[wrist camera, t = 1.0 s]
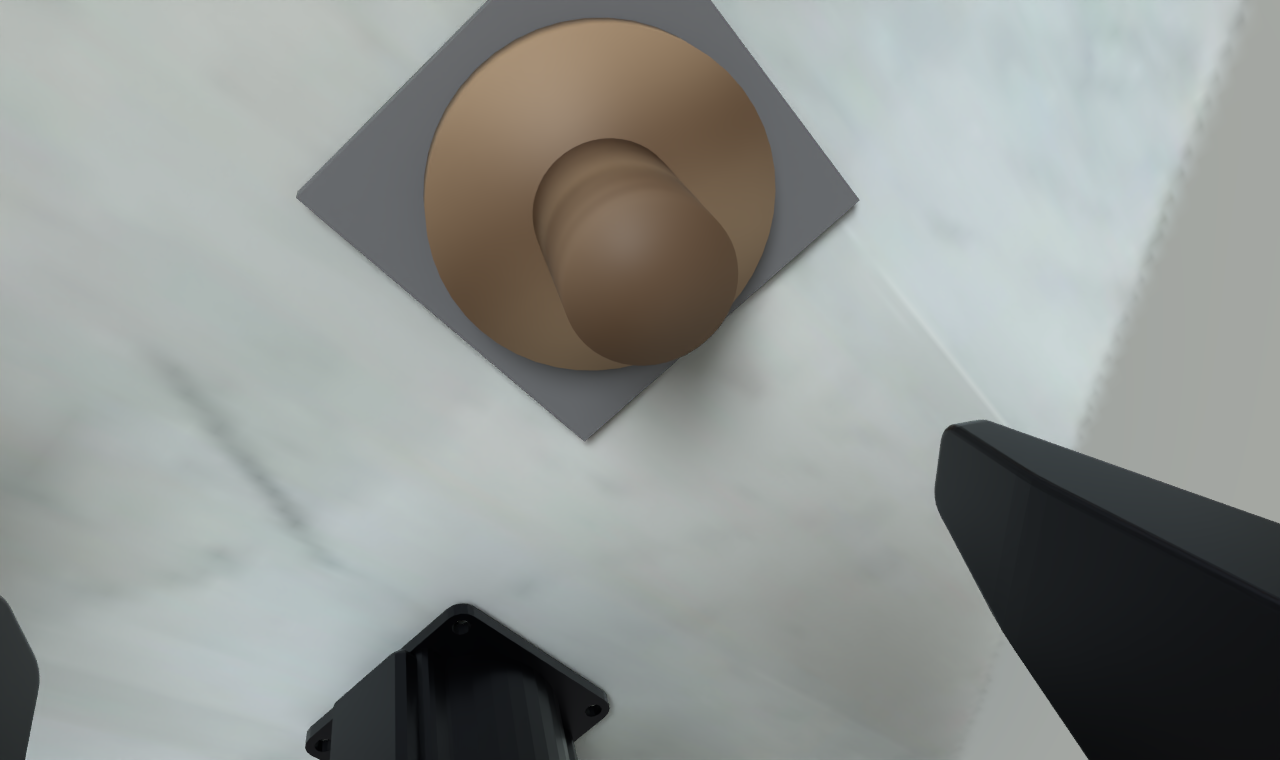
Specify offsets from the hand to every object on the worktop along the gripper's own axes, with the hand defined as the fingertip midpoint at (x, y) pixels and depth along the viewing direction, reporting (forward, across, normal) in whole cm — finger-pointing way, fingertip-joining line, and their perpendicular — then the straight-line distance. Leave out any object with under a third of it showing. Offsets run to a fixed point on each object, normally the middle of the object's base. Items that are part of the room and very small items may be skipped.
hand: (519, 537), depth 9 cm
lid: (+12, -3, +1) cm, 13 cm away
